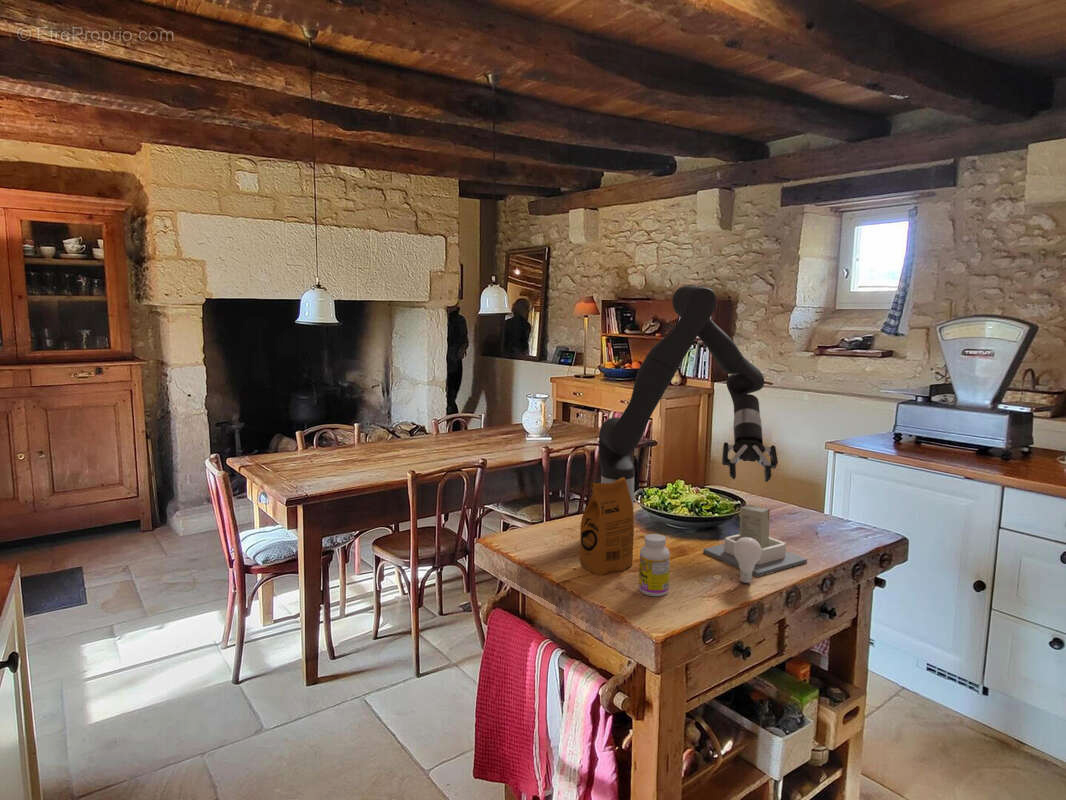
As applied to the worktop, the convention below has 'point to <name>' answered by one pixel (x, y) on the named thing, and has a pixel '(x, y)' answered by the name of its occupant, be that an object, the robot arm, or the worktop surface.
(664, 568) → the supplement bottle
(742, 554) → the lightbulb
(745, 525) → the skincare box
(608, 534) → the coffee package
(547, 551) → the worktop surface
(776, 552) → the holder
